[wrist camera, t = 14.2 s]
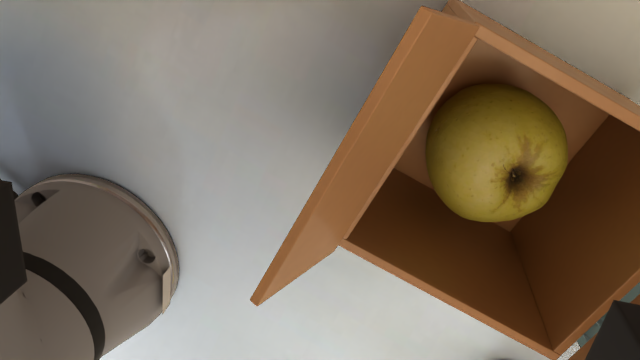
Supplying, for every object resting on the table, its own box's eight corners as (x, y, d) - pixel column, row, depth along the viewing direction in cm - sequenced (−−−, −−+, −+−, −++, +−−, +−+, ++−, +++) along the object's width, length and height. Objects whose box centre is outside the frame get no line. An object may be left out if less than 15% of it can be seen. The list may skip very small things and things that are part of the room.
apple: (382, 137, 33) (423, 168, 24) (475, 57, 33) (557, 55, 23) (452, 220, 35) (517, 280, 25) (542, 146, 34) (644, 179, 25)
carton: (356, 151, 36) (310, 330, 19) (451, -5, 31) (503, 49, 14) (519, 241, 37) (613, 488, 20) (638, 104, 31) (905, 282, 15)
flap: (334, 251, 24) (327, 246, 24) (480, 26, 19) (471, 21, 19) (256, 307, 19) (249, 300, 19) (433, 12, 13) (420, 5, 13)
